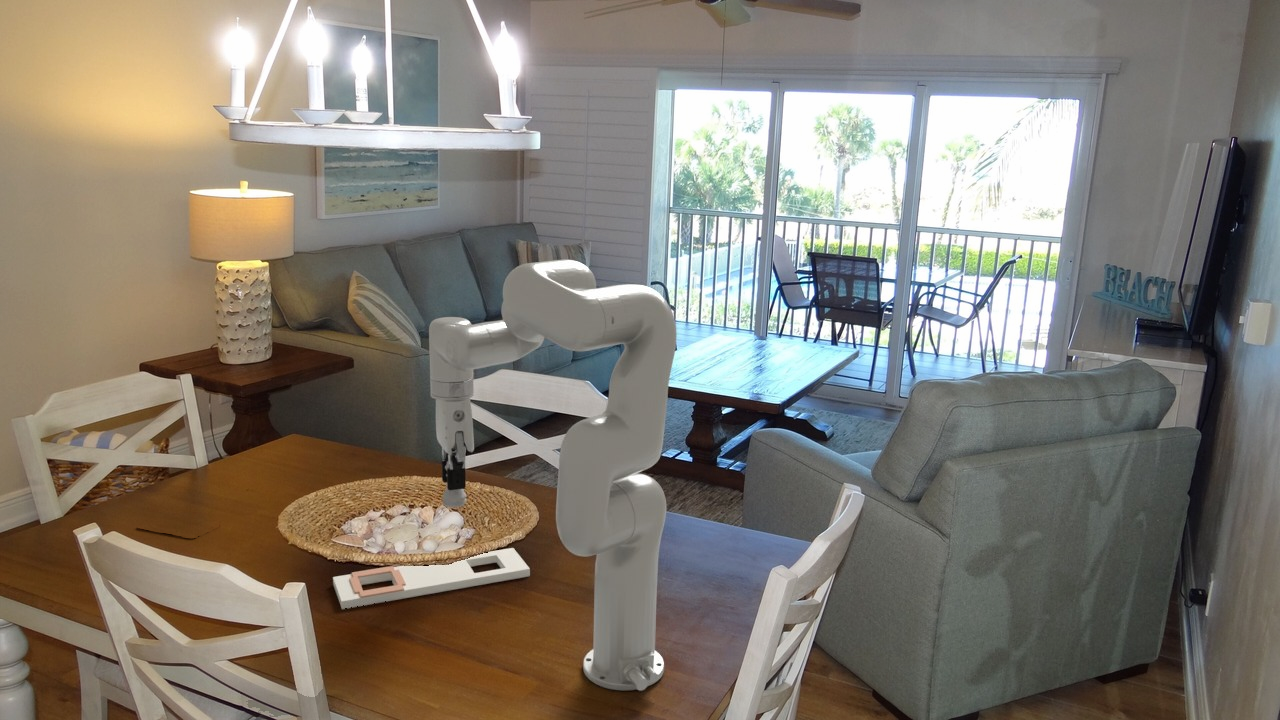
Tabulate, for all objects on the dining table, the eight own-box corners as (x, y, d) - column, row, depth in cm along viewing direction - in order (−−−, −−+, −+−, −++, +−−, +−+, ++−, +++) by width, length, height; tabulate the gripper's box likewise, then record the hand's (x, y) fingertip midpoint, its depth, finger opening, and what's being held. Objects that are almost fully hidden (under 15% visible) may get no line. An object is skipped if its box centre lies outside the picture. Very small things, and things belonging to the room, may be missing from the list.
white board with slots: (529, 576, 182) (529, 567, 182) (341, 609, 168) (341, 599, 167) (513, 554, 191) (513, 546, 190) (333, 584, 176) (332, 575, 176)
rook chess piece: (461, 509, 175) (460, 467, 173) (437, 506, 176) (436, 464, 174) (470, 500, 179) (470, 459, 177) (448, 498, 180) (447, 456, 178)
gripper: (484, 397, 167) (486, 498, 171) (461, 374, 181) (463, 468, 186) (441, 401, 164) (443, 503, 168) (421, 378, 178) (423, 472, 183)
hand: (453, 484), depth 177 cm, fingers closed on rook chess piece, 3 cm apart
